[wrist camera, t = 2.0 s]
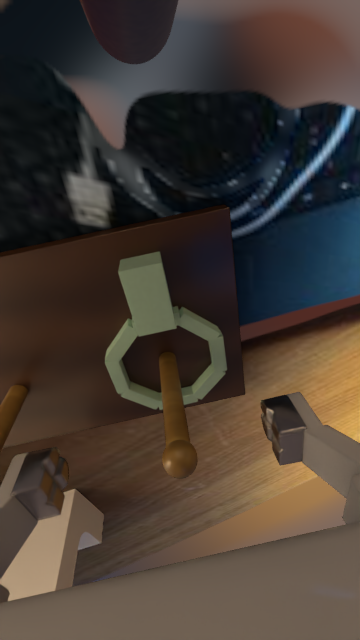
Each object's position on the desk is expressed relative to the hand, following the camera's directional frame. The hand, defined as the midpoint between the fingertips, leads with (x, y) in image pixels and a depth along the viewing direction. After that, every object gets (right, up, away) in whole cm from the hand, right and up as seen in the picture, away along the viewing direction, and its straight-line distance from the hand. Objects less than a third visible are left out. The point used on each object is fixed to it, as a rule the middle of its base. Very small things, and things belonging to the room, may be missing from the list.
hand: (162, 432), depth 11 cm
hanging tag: (-1, +3, +14) cm, 14 cm away
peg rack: (-8, +2, +15) cm, 17 cm away
